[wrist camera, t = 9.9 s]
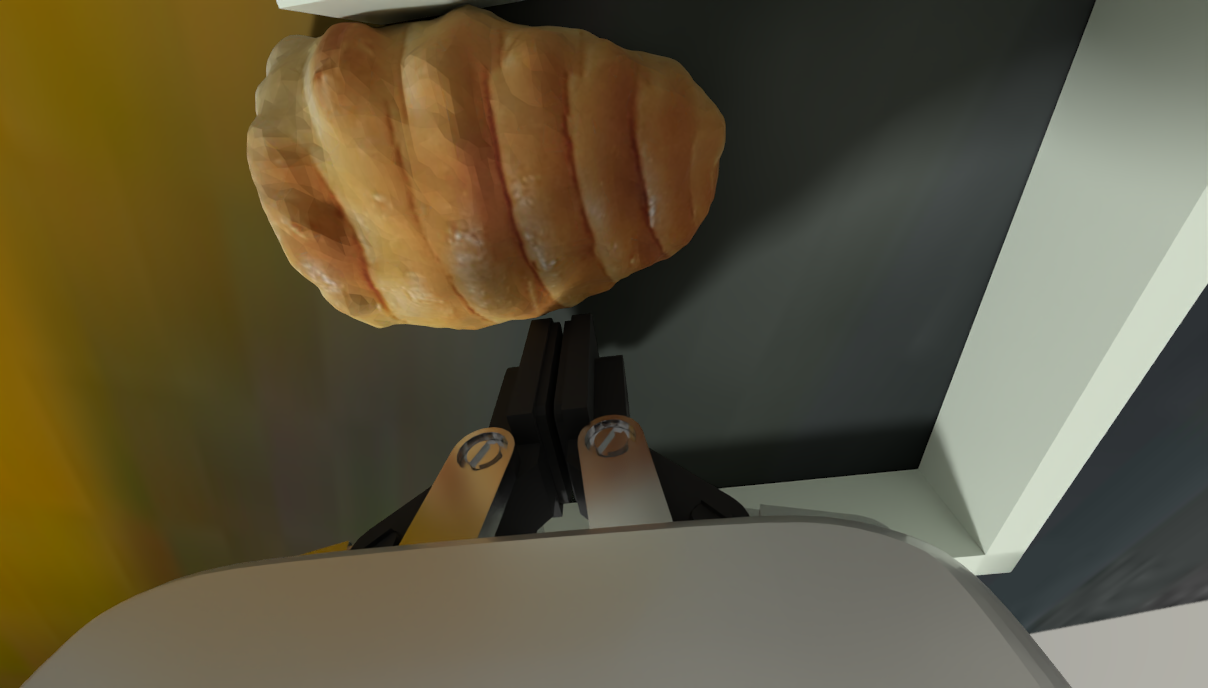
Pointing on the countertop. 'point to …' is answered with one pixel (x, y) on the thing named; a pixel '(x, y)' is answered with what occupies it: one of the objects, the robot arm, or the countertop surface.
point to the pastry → (477, 165)
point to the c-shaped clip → (1036, 290)
